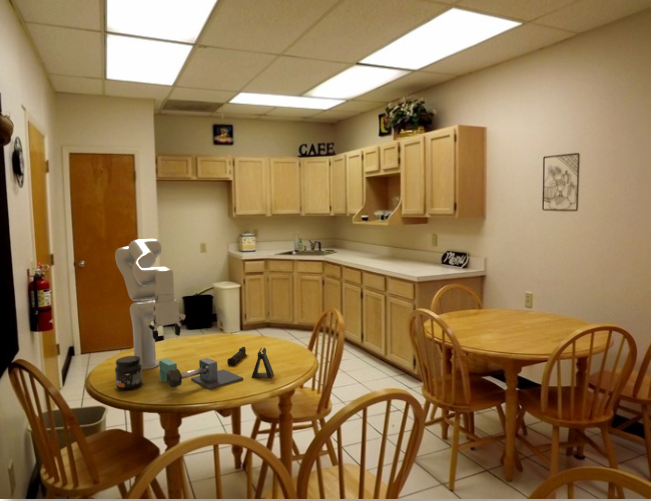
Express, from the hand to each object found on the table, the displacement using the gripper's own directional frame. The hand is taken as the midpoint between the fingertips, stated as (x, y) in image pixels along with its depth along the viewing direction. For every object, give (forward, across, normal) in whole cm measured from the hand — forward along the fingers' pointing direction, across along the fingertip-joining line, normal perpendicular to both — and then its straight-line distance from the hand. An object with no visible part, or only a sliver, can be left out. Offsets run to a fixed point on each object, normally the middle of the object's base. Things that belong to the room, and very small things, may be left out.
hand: (166, 337), depth 200 cm
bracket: (+19, +12, -13) cm, 26 cm away
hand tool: (+20, +38, +5) cm, 43 cm away
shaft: (+17, +5, -13) cm, 22 cm away
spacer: (+20, 0, 0) cm, 20 cm away
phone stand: (+20, +33, -23) cm, 45 cm away
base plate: (+20, +16, -13) cm, 28 cm away
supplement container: (+20, -14, +7) cm, 26 cm away
